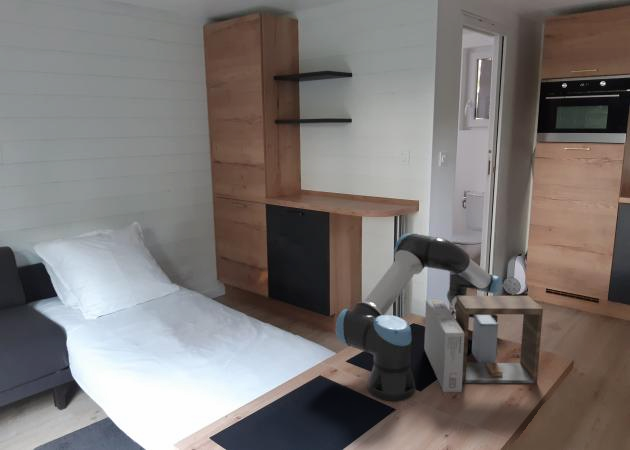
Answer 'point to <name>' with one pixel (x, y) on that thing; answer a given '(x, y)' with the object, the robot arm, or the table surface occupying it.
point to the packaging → (444, 345)
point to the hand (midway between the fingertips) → (477, 326)
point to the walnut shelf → (529, 346)
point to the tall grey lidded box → (484, 338)
